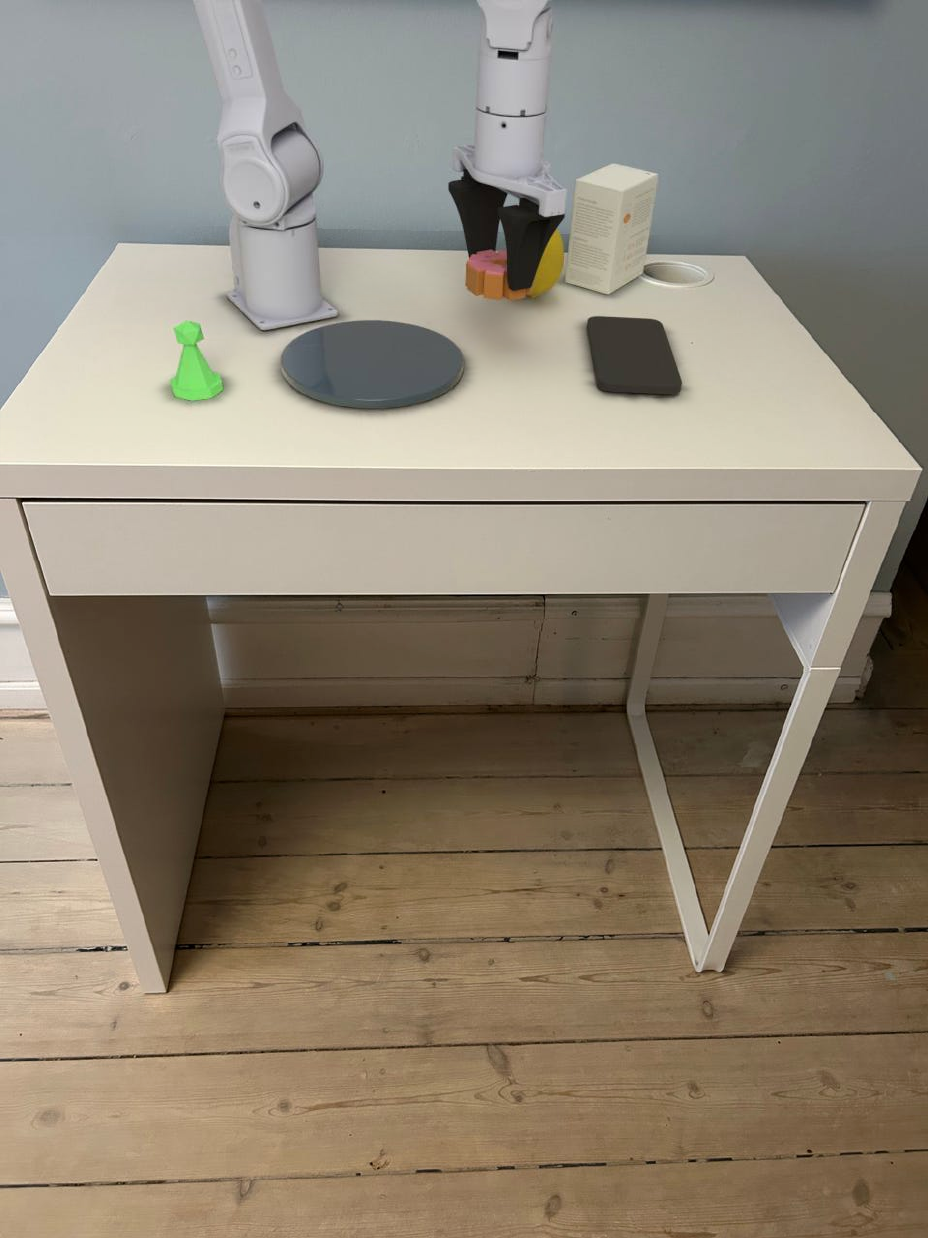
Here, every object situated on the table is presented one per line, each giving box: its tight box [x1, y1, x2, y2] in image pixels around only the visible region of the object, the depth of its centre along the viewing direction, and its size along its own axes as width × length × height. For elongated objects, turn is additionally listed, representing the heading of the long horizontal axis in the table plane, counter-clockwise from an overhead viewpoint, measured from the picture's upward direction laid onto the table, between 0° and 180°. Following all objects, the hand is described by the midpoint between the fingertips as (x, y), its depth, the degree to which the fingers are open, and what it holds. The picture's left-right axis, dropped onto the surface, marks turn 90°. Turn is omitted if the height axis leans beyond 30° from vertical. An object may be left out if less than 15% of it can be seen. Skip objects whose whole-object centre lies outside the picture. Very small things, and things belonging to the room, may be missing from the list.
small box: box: [564, 162, 660, 295], centre depth 100 cm, size 8×6×10 cm
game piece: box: [169, 320, 224, 402], centre depth 78 cm, size 4×4×6 cm
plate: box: [280, 319, 465, 409], centre depth 84 cm, size 16×16×1 cm
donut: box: [464, 249, 534, 302], centre depth 86 cm, size 6×6×2 cm
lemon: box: [528, 228, 565, 299], centre depth 96 cm, size 6×6×8 cm
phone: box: [586, 315, 683, 395], centre depth 88 cm, size 7×1×15 cm
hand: (500, 275), depth 86 cm, fingers closed on donut, 6 cm apart
